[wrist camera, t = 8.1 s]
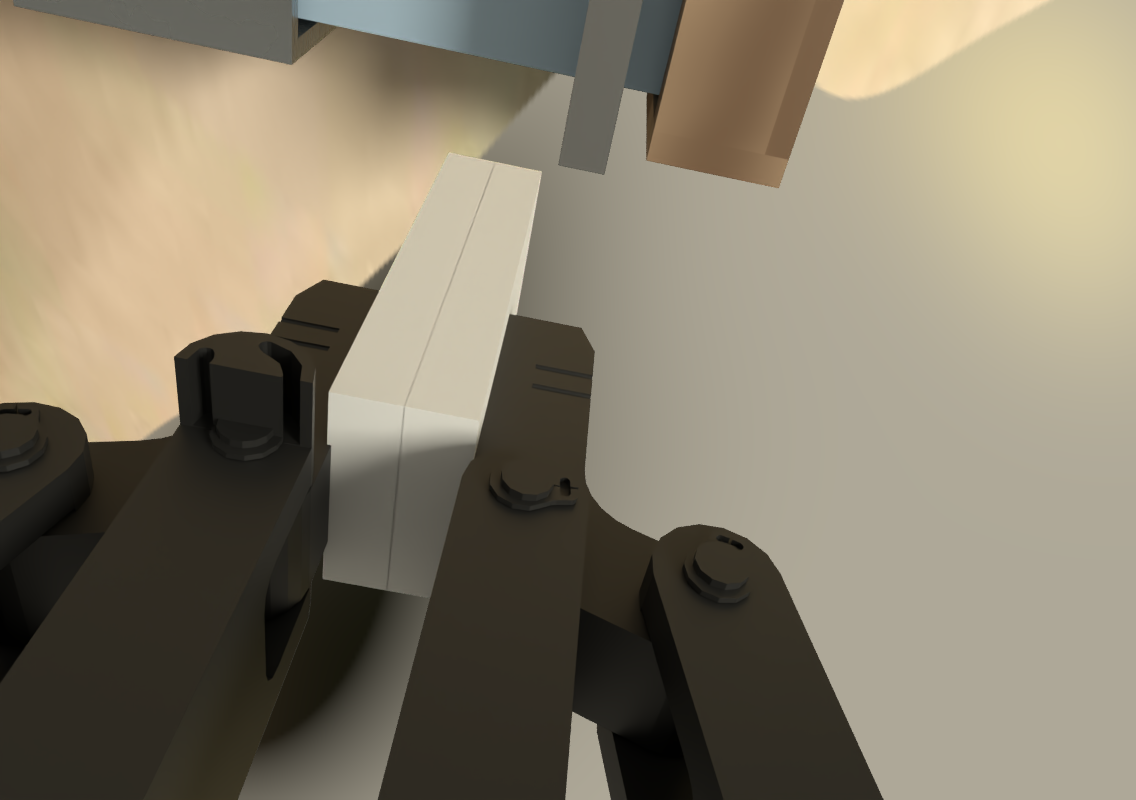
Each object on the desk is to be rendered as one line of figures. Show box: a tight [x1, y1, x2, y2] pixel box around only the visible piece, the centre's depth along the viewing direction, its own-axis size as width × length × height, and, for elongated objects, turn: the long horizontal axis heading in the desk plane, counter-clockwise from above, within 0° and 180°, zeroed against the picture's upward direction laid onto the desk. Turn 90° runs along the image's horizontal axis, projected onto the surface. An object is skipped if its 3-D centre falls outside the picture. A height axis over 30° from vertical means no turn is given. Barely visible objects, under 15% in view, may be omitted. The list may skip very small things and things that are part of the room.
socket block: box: [646, 0, 844, 188], centre depth 30 cm, size 4×7×7 cm, turn 169°
